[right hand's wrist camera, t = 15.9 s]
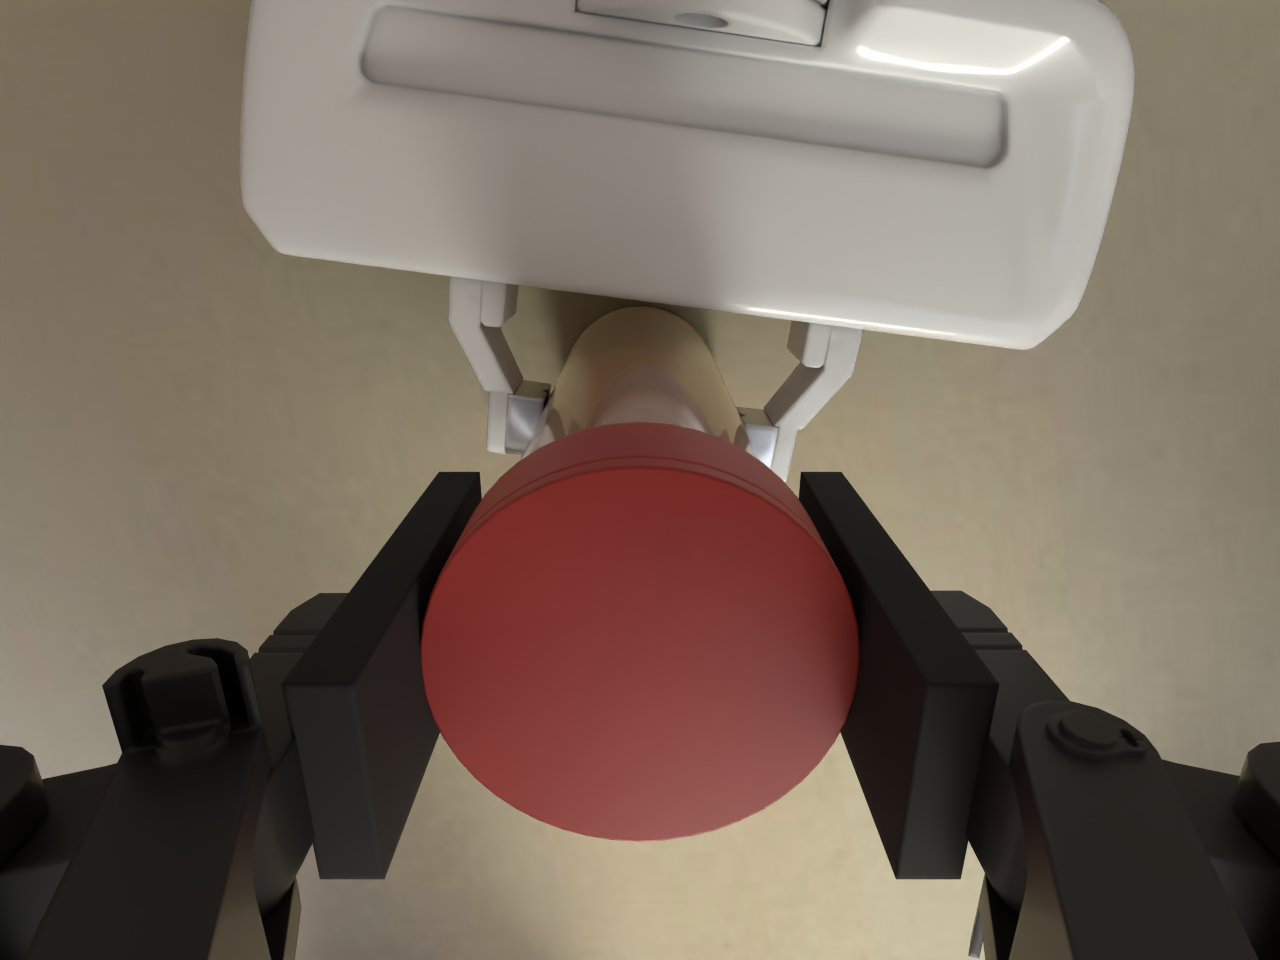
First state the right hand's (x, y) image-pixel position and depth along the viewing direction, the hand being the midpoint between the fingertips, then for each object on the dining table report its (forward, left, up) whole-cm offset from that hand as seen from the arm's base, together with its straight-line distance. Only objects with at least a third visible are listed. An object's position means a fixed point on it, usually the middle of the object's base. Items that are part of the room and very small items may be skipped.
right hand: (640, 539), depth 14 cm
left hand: (0, +1, -7) cm, 7 cm away
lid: (0, 0, +4) cm, 4 cm away
